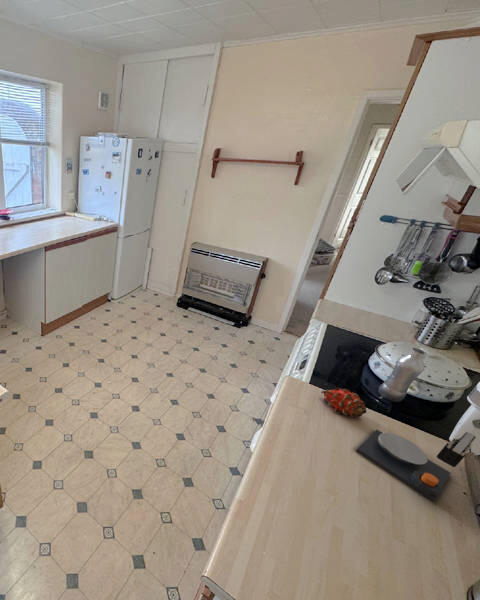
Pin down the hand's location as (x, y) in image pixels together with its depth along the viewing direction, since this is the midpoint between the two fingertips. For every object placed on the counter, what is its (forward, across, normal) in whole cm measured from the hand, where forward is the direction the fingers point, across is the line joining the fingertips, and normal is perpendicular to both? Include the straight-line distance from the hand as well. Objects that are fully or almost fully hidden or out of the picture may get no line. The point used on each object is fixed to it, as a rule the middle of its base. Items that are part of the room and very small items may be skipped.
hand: (446, 460), depth 76 cm
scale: (+11, +4, +6) cm, 13 cm away
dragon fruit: (+11, +12, +24) cm, 29 cm away
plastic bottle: (+11, +36, +18) cm, 42 cm away
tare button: (+8, 0, 0) cm, 8 cm away
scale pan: (+8, +6, +7) cm, 12 cm away
